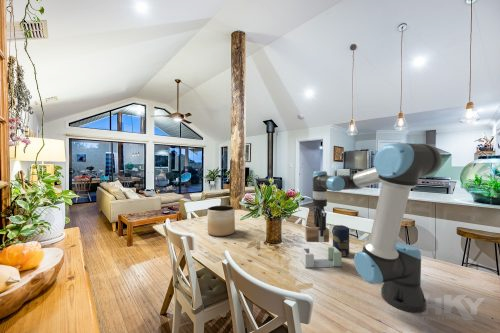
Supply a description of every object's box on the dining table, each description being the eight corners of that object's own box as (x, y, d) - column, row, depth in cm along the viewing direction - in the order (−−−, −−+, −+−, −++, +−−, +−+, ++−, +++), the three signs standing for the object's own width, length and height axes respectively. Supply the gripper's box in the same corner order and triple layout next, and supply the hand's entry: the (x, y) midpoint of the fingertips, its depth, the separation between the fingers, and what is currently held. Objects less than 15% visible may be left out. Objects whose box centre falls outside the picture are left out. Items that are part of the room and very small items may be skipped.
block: (329, 242, 119) (329, 229, 119) (307, 241, 120) (307, 229, 120) (326, 239, 123) (326, 227, 123) (305, 239, 124) (305, 227, 124)
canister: (351, 258, 129) (351, 228, 128) (334, 256, 131) (334, 227, 130) (347, 251, 138) (347, 223, 138) (331, 250, 140) (331, 222, 140)
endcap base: (342, 267, 117) (342, 253, 117) (305, 268, 117) (305, 254, 117) (334, 259, 127) (334, 247, 126) (300, 260, 126) (301, 247, 126)
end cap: (341, 265, 118) (341, 253, 117) (333, 266, 117) (333, 253, 117) (334, 258, 126) (334, 246, 126) (327, 258, 126) (327, 246, 126)
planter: (212, 227, 189) (212, 205, 188) (237, 228, 186) (237, 205, 185) (203, 236, 167) (203, 210, 166) (231, 237, 164) (231, 211, 163)
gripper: (332, 201, 112) (332, 246, 113) (320, 196, 130) (320, 234, 130) (318, 201, 112) (318, 246, 113) (308, 196, 129) (308, 235, 130)
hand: (319, 240), depth 121 cm, fingers closed on block, 4 cm apart
